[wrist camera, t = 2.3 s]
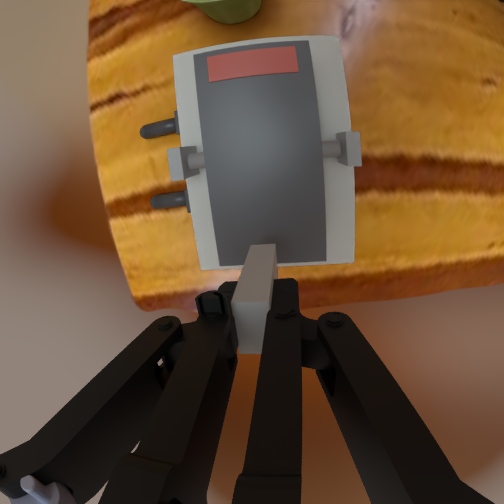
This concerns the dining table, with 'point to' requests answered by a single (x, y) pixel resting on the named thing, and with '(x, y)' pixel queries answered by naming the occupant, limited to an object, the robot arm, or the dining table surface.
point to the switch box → (332, 128)
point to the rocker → (263, 150)
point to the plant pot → (228, 9)
